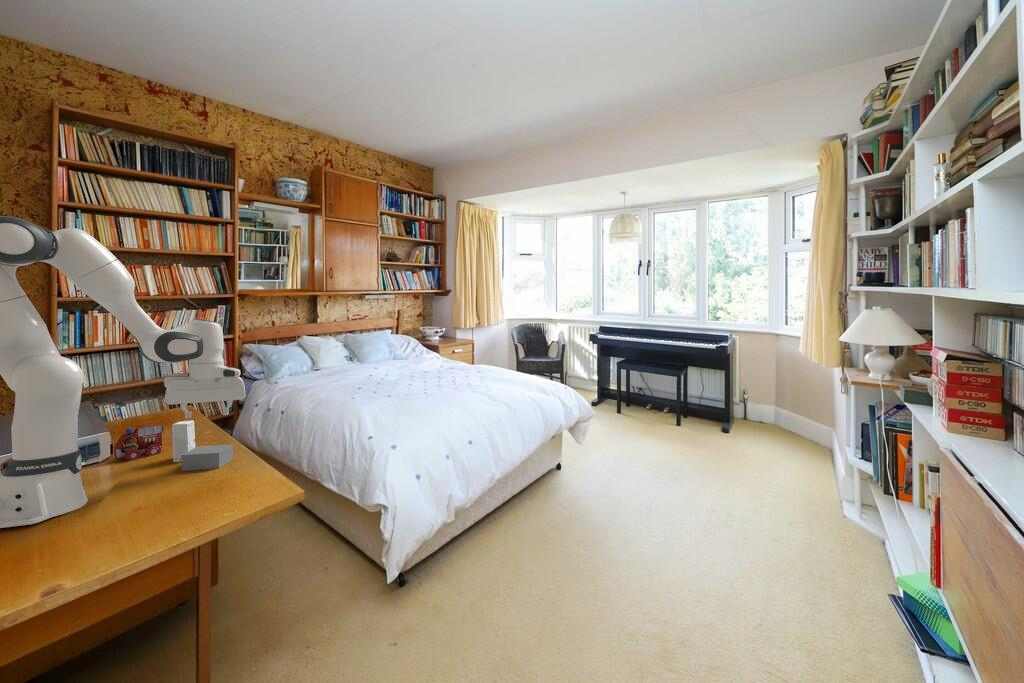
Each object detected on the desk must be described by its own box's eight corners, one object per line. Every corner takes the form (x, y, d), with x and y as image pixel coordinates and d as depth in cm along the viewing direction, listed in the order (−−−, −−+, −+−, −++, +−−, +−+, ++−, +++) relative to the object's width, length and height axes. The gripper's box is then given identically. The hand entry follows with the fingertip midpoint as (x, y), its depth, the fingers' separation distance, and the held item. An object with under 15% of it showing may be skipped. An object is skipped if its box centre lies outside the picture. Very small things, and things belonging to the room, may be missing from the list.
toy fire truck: (111, 460, 136) (110, 428, 136) (159, 451, 146) (159, 421, 146) (117, 464, 132) (117, 431, 132) (166, 455, 142) (166, 424, 142)
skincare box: (188, 461, 135) (188, 423, 135) (171, 462, 133) (171, 424, 133) (196, 456, 141) (195, 419, 140) (180, 457, 139) (179, 420, 139)
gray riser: (181, 471, 126) (181, 455, 126) (198, 461, 135) (198, 446, 135) (219, 469, 128) (219, 452, 128) (233, 459, 138) (233, 444, 138)
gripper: (162, 374, 123) (162, 421, 123) (245, 371, 134) (245, 414, 134) (165, 372, 128) (166, 418, 129) (245, 369, 139) (245, 411, 139)
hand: (207, 416), depth 131 cm, fingers open, 8 cm apart
